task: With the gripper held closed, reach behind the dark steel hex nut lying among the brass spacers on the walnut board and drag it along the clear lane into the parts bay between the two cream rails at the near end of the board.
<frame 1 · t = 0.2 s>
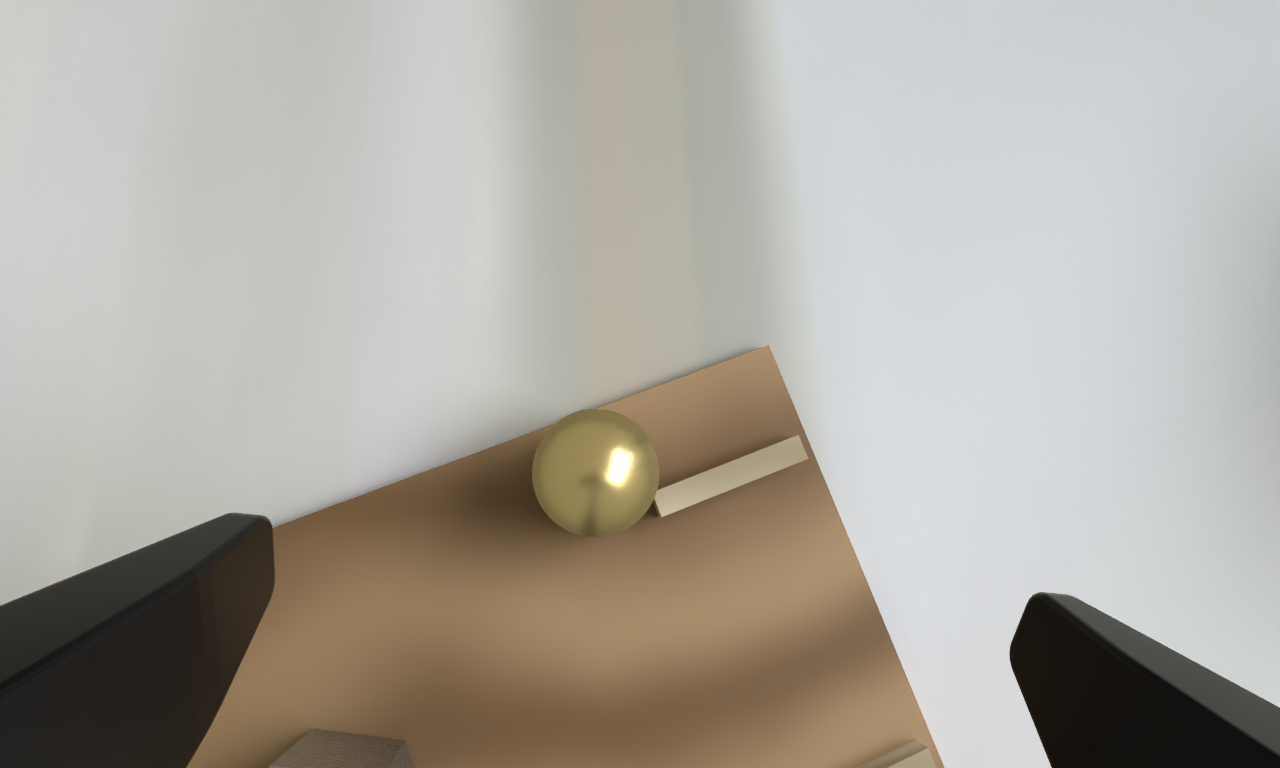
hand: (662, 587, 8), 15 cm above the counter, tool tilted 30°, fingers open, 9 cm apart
brass spacers: (512, 740, 21), resting on walnut board
walnut board: (512, 740, 21), on the counter
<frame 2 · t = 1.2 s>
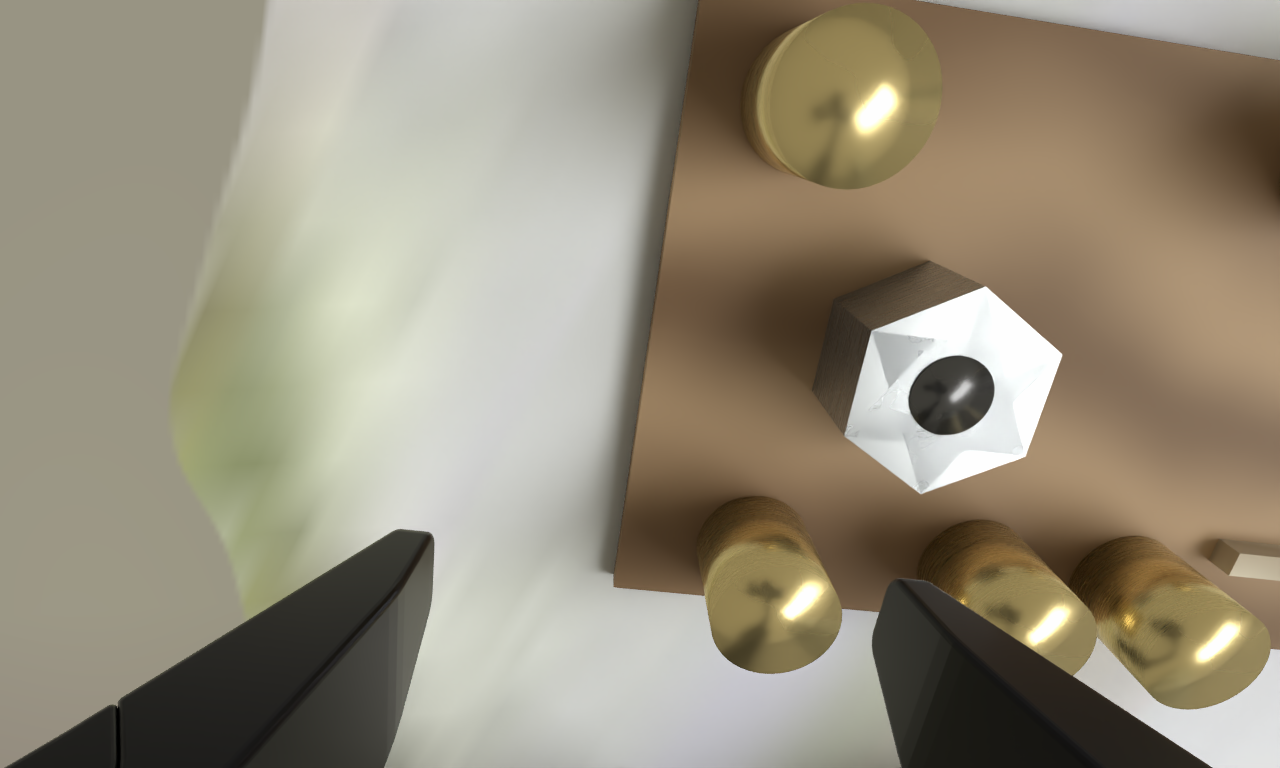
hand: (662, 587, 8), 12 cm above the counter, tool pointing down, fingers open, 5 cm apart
brass spacers: (1061, 369, 21), resting on walnut board
walnut board: (1061, 369, 21), on the counter
steel nut: (903, 355, 20), point 1 cm above the counter, touching walnut board
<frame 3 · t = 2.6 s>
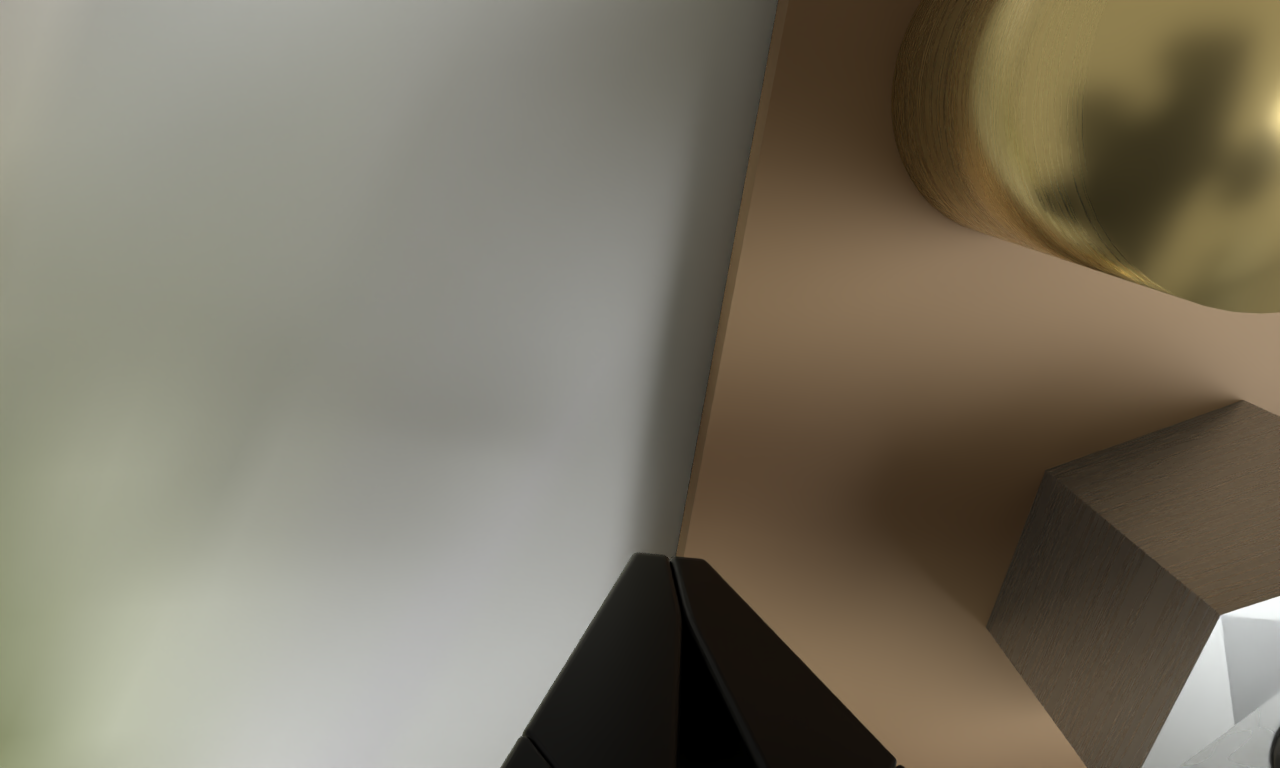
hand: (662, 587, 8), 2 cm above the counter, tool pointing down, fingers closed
steel nut: (1164, 567, 10), point 1 cm above the counter, touching walnut board
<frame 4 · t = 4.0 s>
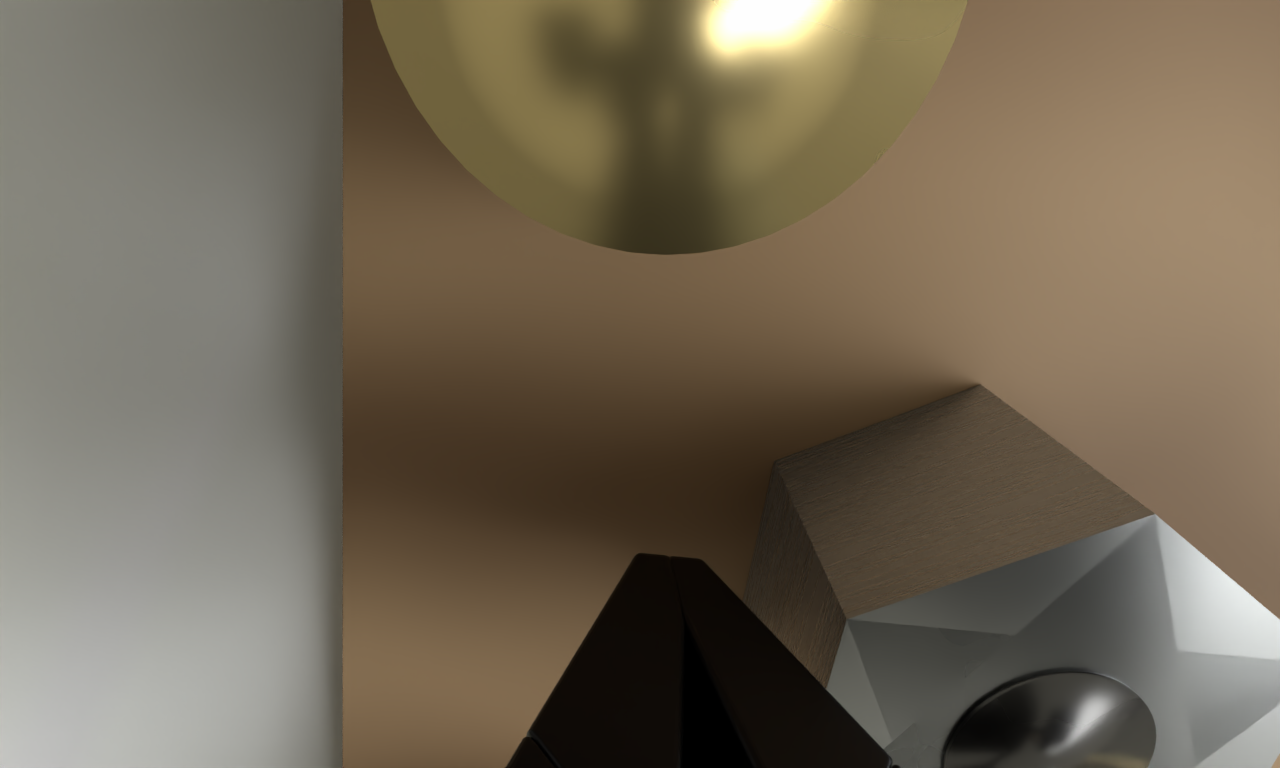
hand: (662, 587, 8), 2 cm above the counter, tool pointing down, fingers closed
brass spacers: (1185, 574, 11), resting on walnut board
walnut board: (1185, 574, 11), on the counter
steel nut: (920, 566, 10), point 1 cm above the counter, touching gripper
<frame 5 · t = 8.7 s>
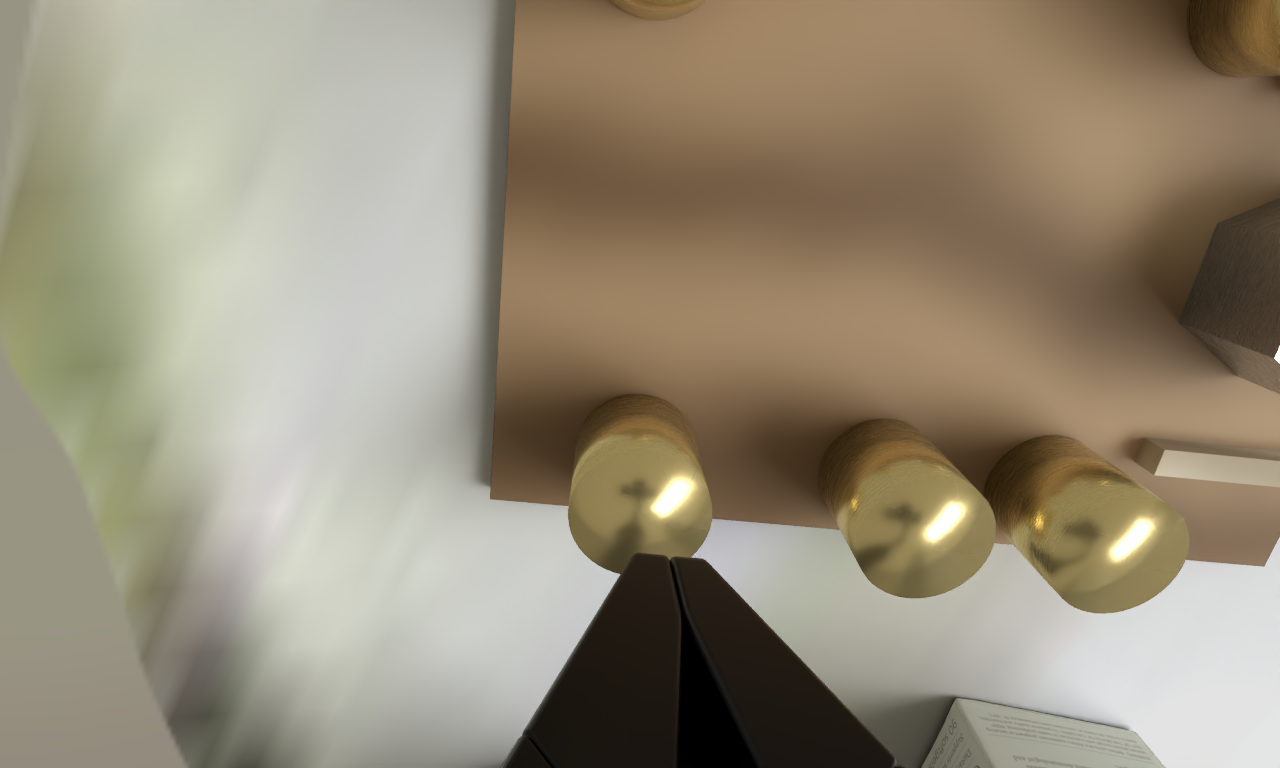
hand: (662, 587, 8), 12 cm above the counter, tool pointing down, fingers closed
brass spacers: (963, 248, 19), resting on walnut board
walnut board: (963, 248, 19), on the counter
steel nut: (1278, 282, 19), point 1 cm above the counter, touching walnut board
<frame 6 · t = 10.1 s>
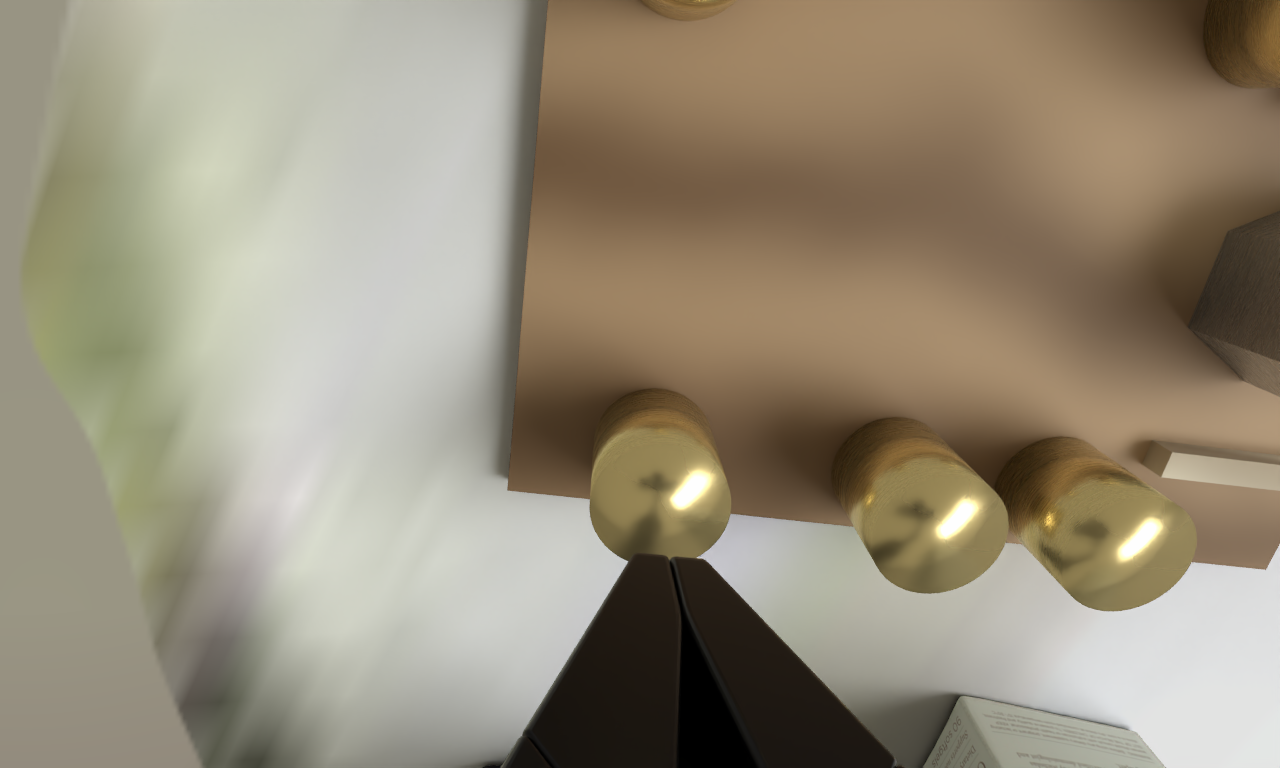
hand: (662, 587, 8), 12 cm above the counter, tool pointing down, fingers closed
brass spacers: (978, 251, 19), resting on walnut board
walnut board: (978, 251, 19), on the counter
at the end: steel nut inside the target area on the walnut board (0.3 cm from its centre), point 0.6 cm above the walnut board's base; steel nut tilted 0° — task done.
